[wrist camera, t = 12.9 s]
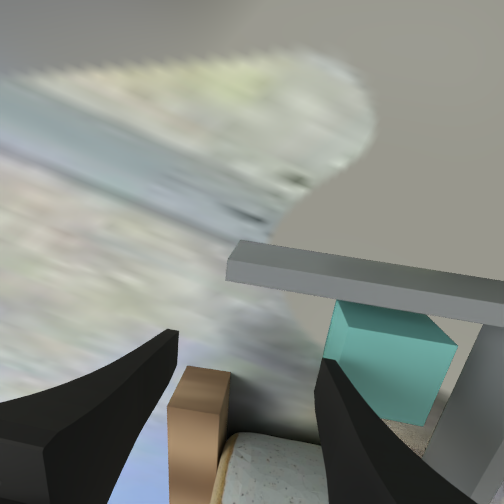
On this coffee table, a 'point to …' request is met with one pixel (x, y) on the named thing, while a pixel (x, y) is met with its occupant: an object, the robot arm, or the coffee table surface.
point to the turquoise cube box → (390, 358)
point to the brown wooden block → (196, 433)
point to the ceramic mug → (270, 472)
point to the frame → (425, 302)
